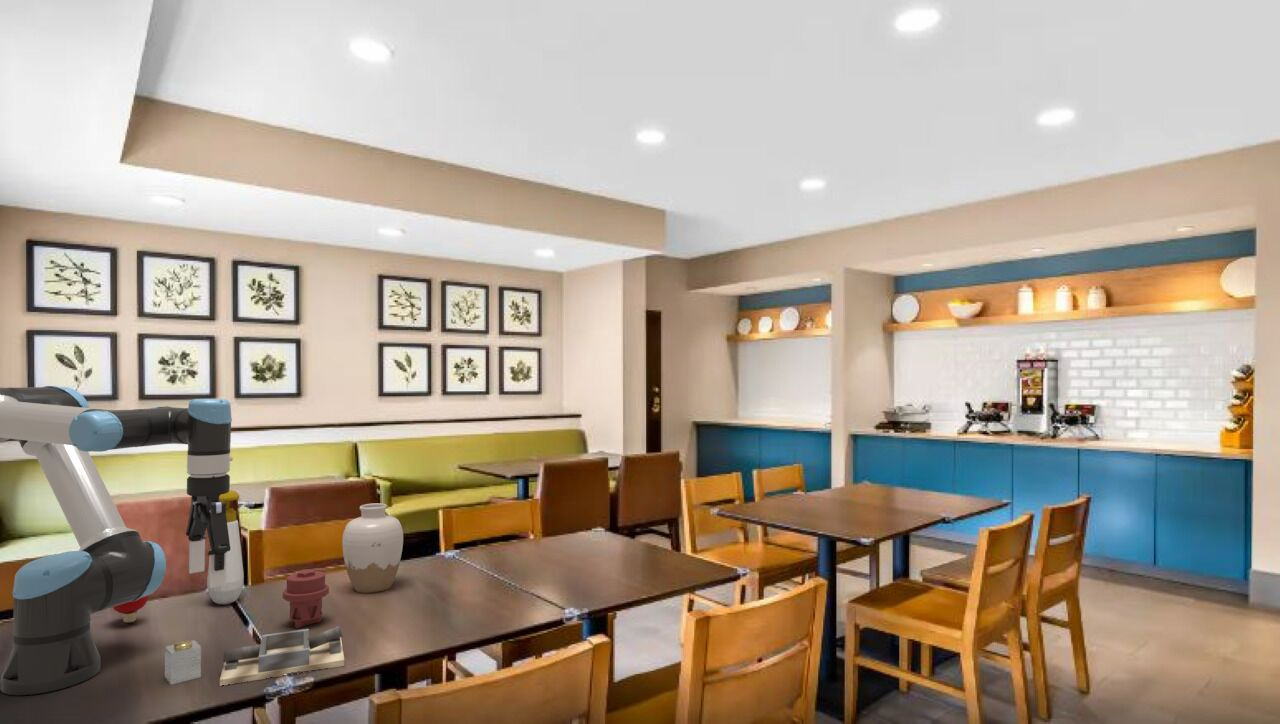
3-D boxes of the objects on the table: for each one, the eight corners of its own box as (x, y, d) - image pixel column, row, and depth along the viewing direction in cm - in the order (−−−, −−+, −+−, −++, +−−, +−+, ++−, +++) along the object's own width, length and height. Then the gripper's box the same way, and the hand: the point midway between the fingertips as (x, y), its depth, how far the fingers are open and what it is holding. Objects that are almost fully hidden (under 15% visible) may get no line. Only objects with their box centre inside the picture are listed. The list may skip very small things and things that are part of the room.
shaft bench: (219, 686, 136) (219, 654, 137) (226, 659, 149) (226, 630, 149) (344, 665, 146) (344, 636, 146) (341, 642, 158) (341, 615, 159)
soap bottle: (195, 599, 189) (196, 489, 189) (240, 592, 195) (240, 485, 195) (200, 612, 179) (200, 495, 179) (246, 604, 185) (247, 491, 185)
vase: (381, 576, 210) (381, 498, 210) (414, 585, 201) (415, 504, 201) (330, 589, 197) (330, 506, 197) (364, 600, 188) (364, 513, 188)
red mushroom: (152, 624, 170) (152, 582, 170) (116, 632, 165) (117, 588, 165) (142, 615, 177) (142, 574, 177) (107, 622, 172) (108, 580, 172)
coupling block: (171, 685, 137) (171, 650, 137) (164, 677, 141) (165, 643, 141) (200, 677, 141) (201, 643, 141) (193, 669, 144) (194, 636, 144)
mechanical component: (337, 617, 175) (310, 632, 165) (301, 614, 177) (272, 629, 167) (337, 566, 175) (311, 578, 165) (301, 564, 177) (273, 575, 167)
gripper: (249, 479, 140) (247, 588, 140) (210, 466, 157) (208, 563, 157) (206, 484, 135) (204, 597, 135) (170, 469, 152) (168, 569, 152)
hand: (206, 579), depth 146 cm, fingers open, 13 cm apart
